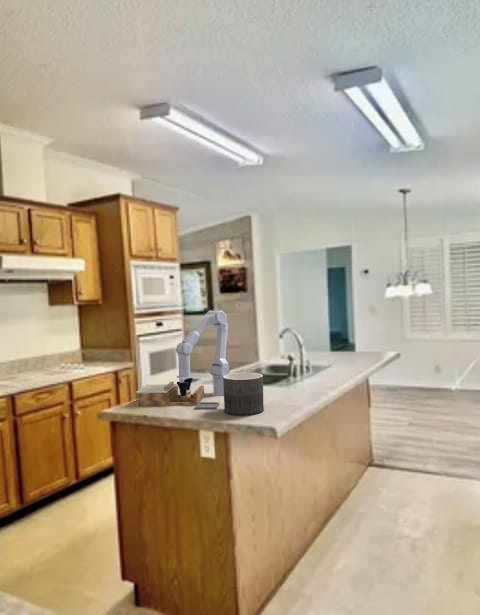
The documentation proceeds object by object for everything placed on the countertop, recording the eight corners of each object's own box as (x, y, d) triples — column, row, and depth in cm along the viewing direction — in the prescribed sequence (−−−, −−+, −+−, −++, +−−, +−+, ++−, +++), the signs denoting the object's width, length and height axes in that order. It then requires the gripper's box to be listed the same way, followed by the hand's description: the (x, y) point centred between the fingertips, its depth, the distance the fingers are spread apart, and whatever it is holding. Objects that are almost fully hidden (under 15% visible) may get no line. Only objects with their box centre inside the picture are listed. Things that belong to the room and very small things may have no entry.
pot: (192, 399, 244) (191, 389, 244) (189, 402, 239) (189, 392, 239) (181, 399, 245) (181, 389, 245) (179, 402, 239) (178, 392, 239)
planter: (250, 417, 207) (249, 380, 207) (216, 413, 217) (215, 378, 216) (270, 408, 222) (269, 374, 222) (237, 404, 232) (236, 371, 231)
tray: (219, 404, 233) (219, 402, 233) (216, 409, 223) (216, 407, 223) (198, 404, 234) (198, 402, 234) (194, 409, 224) (194, 407, 224)
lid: (175, 385, 252) (175, 380, 252) (166, 393, 233) (166, 388, 233) (147, 385, 253) (146, 381, 253) (135, 393, 235) (135, 388, 235)
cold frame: (204, 397, 250) (203, 385, 250) (197, 405, 232) (196, 393, 232) (149, 397, 253) (149, 386, 253) (138, 406, 235) (138, 393, 235)
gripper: (179, 365, 249) (180, 391, 249) (172, 369, 234) (173, 397, 235) (193, 364, 248) (194, 391, 249) (187, 369, 234) (188, 397, 234)
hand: (185, 394), depth 242 cm, fingers open, 7 cm apart
